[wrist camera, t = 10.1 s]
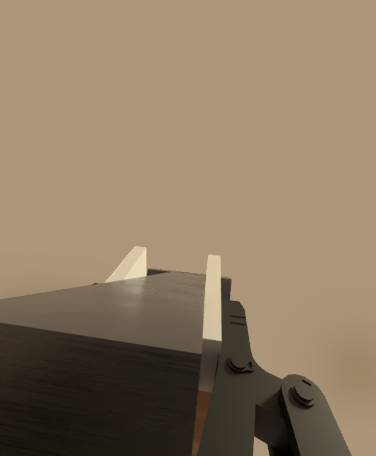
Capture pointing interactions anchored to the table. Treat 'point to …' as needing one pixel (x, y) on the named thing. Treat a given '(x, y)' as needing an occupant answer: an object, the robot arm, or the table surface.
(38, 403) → the dark grey plank
